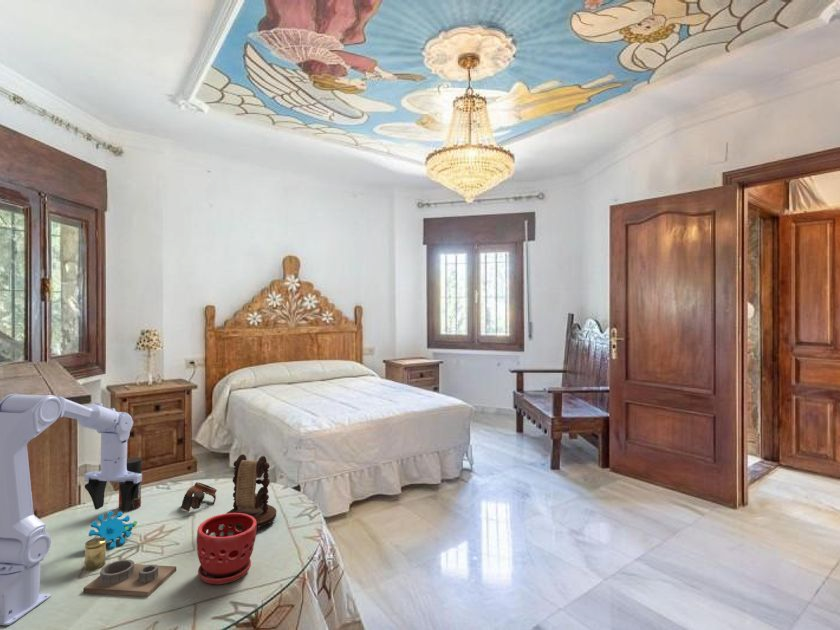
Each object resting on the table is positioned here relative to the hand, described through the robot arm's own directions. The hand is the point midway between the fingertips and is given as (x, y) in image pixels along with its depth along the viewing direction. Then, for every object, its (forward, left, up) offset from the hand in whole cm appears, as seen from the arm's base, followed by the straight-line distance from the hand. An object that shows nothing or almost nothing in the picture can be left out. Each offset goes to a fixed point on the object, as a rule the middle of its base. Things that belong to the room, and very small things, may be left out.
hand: (112, 508), depth 119 cm
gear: (+2, +1, -10) cm, 10 cm away
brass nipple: (-9, -3, -10) cm, 14 cm away
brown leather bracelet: (+26, -9, -10) cm, 29 cm away
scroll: (+17, -30, -10) cm, 36 cm away
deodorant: (+23, +12, -10) cm, 27 cm away
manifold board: (-14, -16, -10) cm, 24 cm away
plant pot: (-9, -36, -10) cm, 39 cm away
